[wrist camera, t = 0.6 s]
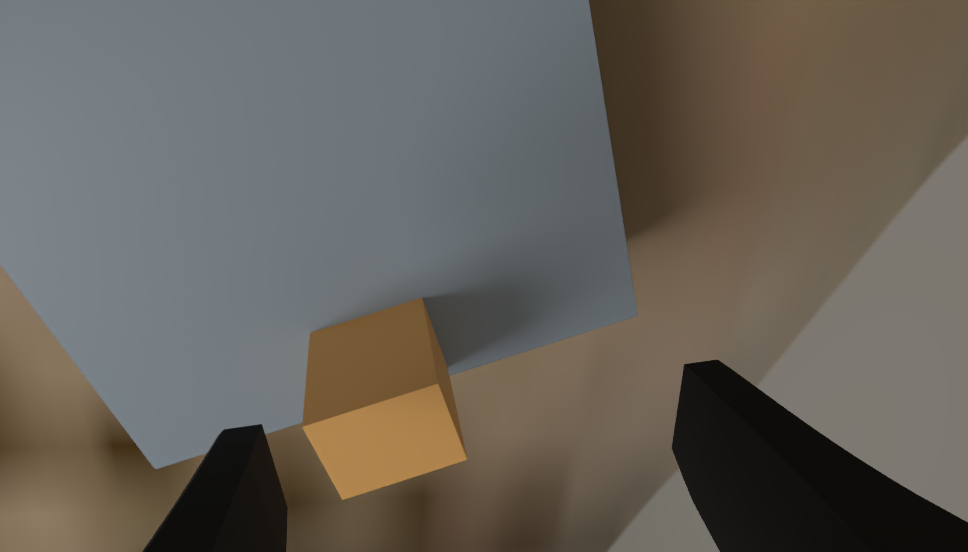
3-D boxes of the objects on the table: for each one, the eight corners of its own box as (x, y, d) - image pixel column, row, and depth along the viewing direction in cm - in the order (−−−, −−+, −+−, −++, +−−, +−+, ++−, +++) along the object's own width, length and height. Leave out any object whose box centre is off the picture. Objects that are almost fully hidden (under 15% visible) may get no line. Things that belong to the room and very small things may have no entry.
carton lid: (159, 456, 19) (118, 582, 15) (-162, 22, 12) (-356, 71, 9) (631, 306, 19) (693, 396, 16) (551, -190, 13) (627, -221, 9)
